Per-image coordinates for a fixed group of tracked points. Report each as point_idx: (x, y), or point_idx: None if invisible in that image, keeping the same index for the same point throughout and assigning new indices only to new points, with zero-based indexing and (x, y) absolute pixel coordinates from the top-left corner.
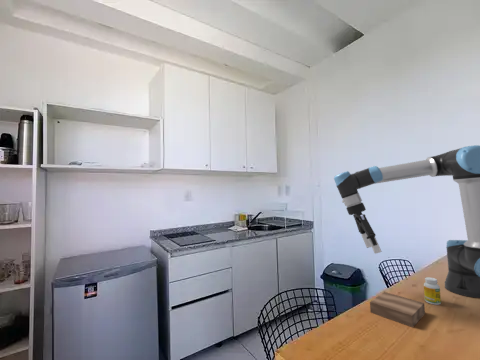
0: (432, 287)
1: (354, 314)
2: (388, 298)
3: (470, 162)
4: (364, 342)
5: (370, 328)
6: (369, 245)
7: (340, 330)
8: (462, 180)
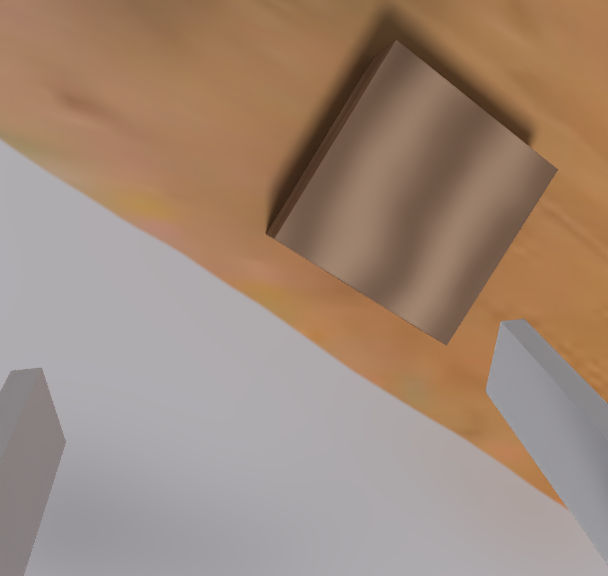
0: None
1: (456, 402)
2: (377, 236)
3: None
4: None
5: (557, 346)
6: (46, 426)
7: None
8: None
